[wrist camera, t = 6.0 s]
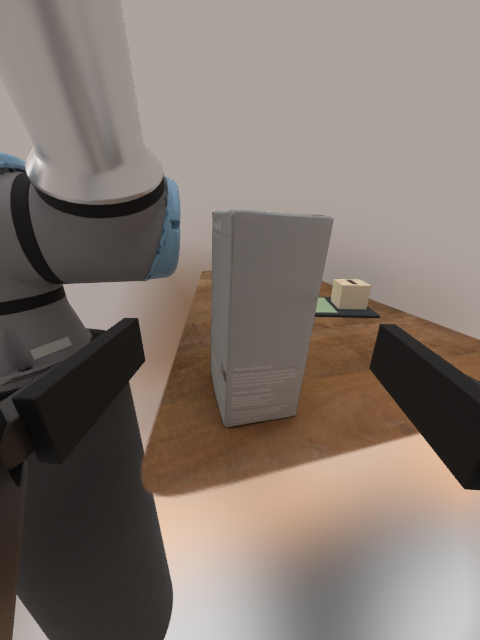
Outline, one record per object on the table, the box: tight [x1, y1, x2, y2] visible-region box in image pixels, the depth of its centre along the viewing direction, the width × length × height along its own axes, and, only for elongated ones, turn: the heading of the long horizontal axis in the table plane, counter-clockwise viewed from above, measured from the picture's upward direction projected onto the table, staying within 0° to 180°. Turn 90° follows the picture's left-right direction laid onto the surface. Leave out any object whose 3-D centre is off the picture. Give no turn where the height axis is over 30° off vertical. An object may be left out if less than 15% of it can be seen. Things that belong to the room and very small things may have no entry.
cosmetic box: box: [211, 210, 333, 427], centre depth 19 cm, size 8×7×16 cm
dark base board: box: [315, 279, 380, 318], centre depth 45 cm, size 22×11×5 cm, turn 86°
